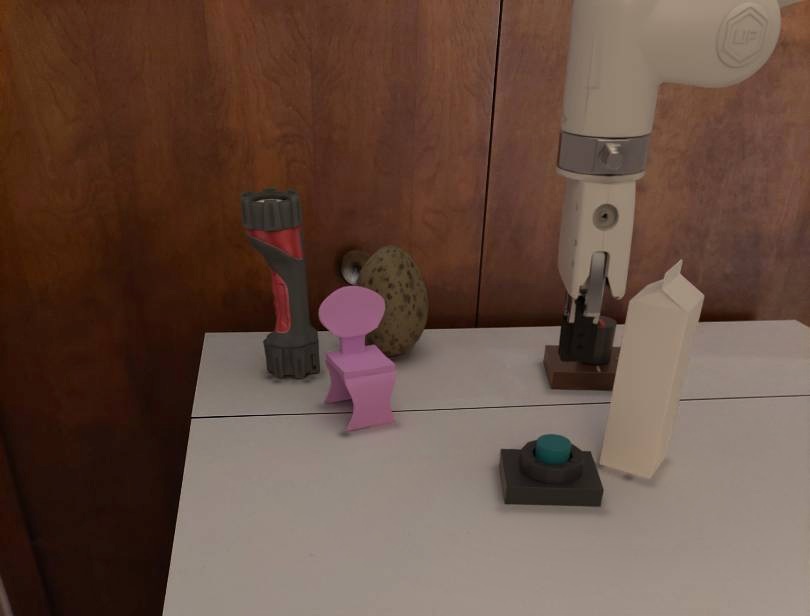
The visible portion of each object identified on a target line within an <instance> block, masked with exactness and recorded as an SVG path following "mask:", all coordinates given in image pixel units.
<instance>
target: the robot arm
mask: <svg viewBox="0 0 810 616" xmlns="http://www.w3.org/2000/svg"><path fill="white" fill-rule="evenodd" d="M804 1H805V0H573V4H572V10H571V19H570V29H569V39H568V49H567V58H566V69H565V79H564V87H563V97H562V108H561V116H560V117H561V118H560V126H559V127H560V129H559V134H558V145H557V152H556V153H557V154H556V163H555V173H556V175H559V176H561V177H563V178H566V181H565V186H564V196H563V197H564V198H563V204H562V212H561V219H560V229H559V238H558V251H557V269H558V273H559V275H560V278H561V281H562V283H563V285H564V287H565V291H564V303H563V315H562V316H561V322H560V323H561V324H560V331H559V338H558V339H559V340H558V345H559V347H558V354H559V356H560V360H561V361H563V362H590V361H592V360H593V356H594V349H595V343H596V336H597V329H598V321H599V316H601V311H602V310H601V309H602V304H603V299H604V293H605V289H606V288H607V289H608V291H609V293H610V294H611V296H612V297H613V298H614V300H616V301H618V300H621V299H622V298H623V297H624V296H625V294H626V289H627V281H628V273H629V266H630V257H631V249H632V240H633V232H634V230H633V229H634V223H635V213H636V212H635V211H636V210H635V209H636V189H637V186H636V185H637V183H636V181H638V180H641V179H643V178H645V175H646V170H647V164H648V157H649V152H650V145H651V139H652V131H653V127H654V120H655V115H656V109H657V102H658V96H659V91H660V85H662V84H665V83H667V84H678V85H685V86H693V87H699V88H704V89H721V88H726V87H727V88H728V87H731V86H734V85H737V84H739V83H741V82H743V81H746V80H747V79H749V78H751V76H753V75H755V74H756V73H757V72H758V71H759V70H760V69H761V68H762V67H763V66H764V65H765V64H766V63H767V62H768V60H769V59H770V57H771V56H772V54H773V52H774V50H775V48H776V46H777V44H778V41H779V38H780V34H781V29H782V15H781V14H782V13H781V9H780V8H784V7H786V6H790V5H793V4H796V3H800V2H804ZM605 287H606V288H605Z"/></svg>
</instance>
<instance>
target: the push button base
mask: <svg viewBox="0 0 810 616" xmlns="http://www.w3.org/2000/svg"><path fill="white" fill-rule="evenodd" d="M536 443H537V439H534V440H530V441H527V442H526V443H525V444H524V445H523V446H521V448H500V452H499V462H498V468H499V475H500V481H501V482H500V483H501V487H502V495H503V501H504V505H514V506H515V505H517V506H518V505H520V506H552V507H553V506H554V507H555V506H556V507H592V508H593V507H594V508H601V506H602V501H603V496H604V490H605V489H604V486H603V483H602V479H601V477H600V474H599V472H598V471H599V470H598V468H597V465H596V462H595V460H594V457H593V456H594V455H593V453H592V451H591V450H582V449H580V448H579V447H578V446H576V445H575V444H574V443H571V451H570V457H569V460H568V461H567V462H564V463H561V464H551V463H546V462H543V461H540V460H538V459H537V458H536V457H535V451H536Z"/></svg>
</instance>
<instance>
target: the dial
mask: <svg viewBox="0 0 810 616" xmlns="http://www.w3.org/2000/svg"><path fill="white" fill-rule="evenodd" d="M617 324H618V323H617V321H616V319H614V318H611V317H609V316H604V315H600V316H599V321H598V329H597V336H596V343H595V349H594V356H593V360H592V361H590V362H584V363H587V364H592V365H602V364H606V363H608V362H609V361H610V359H611V353H612V347H614V341H615V336H616V330H617Z"/></svg>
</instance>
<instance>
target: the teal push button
mask: <svg viewBox="0 0 810 616" xmlns="http://www.w3.org/2000/svg"><path fill="white" fill-rule="evenodd" d="M536 440H537V443H536V451H535V457H536V458H537V459H538V460H540V461H543V462H546V463H551V464H561V463H564V462H567V461H568V460H569V457H570V451H571V444H572V441H571V440H570V439H569V438H568V437H566V436H564V435H561V434H556V433H547V434H542V435H540V436H539V437H537V439H536Z"/></svg>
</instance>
